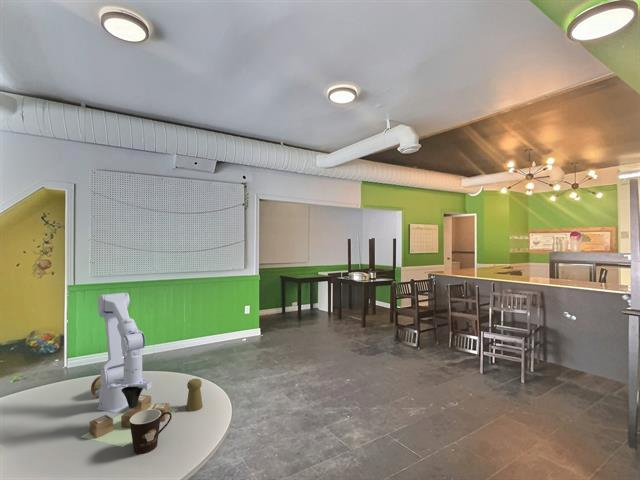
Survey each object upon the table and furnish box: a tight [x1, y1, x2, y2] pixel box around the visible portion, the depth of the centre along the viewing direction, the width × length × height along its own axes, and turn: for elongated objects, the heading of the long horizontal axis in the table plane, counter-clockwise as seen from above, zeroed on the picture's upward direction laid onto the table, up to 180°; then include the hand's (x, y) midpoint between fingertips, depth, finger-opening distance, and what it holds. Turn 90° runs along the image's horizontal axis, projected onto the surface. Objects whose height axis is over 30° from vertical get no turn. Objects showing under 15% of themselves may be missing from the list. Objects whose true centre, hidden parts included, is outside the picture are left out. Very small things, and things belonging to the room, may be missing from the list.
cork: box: [185, 378, 204, 413], centre depth 125 cm, size 6×6×11 cm
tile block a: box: [88, 414, 113, 438], centre depth 109 cm, size 5×5×4 cm
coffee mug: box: [130, 409, 173, 455], centre depth 101 cm, size 12×9×10 cm
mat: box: [80, 403, 179, 448], centre depth 115 cm, size 18×24×1 cm
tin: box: [90, 375, 102, 398], centre depth 139 cm, size 15×3×8 cm, turn 155°
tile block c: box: [129, 394, 152, 410], centre depth 124 cm, size 5×5×4 cm
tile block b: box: [152, 402, 170, 422], centre depth 118 cm, size 5×5×4 cm
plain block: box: [121, 408, 144, 428], centre depth 114 cm, size 5×5×4 cm
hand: (132, 406), depth 114 cm, fingers closed
